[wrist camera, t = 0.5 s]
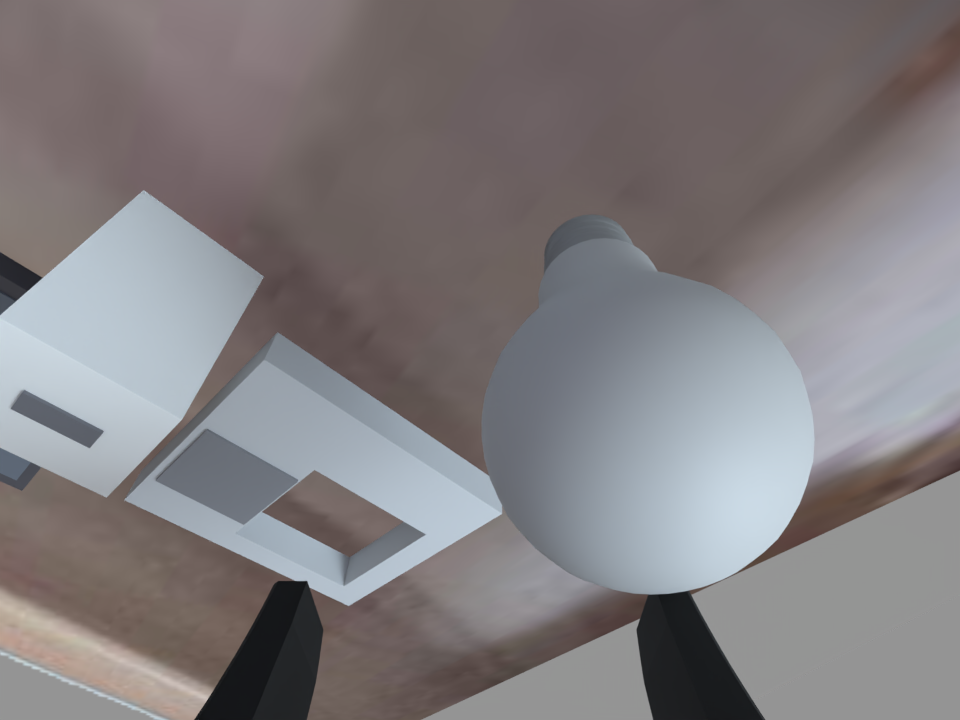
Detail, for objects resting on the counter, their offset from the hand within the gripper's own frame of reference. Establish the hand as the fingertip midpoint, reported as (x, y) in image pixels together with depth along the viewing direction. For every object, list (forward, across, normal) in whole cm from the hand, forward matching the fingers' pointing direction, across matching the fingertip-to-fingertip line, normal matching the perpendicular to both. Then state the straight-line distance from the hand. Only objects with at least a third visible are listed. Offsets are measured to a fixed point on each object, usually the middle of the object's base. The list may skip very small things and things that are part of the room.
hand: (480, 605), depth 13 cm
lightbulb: (+10, +3, +4) cm, 11 cm away
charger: (+10, -10, +2) cm, 14 cm away
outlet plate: (+10, -6, -7) cm, 14 cm away
